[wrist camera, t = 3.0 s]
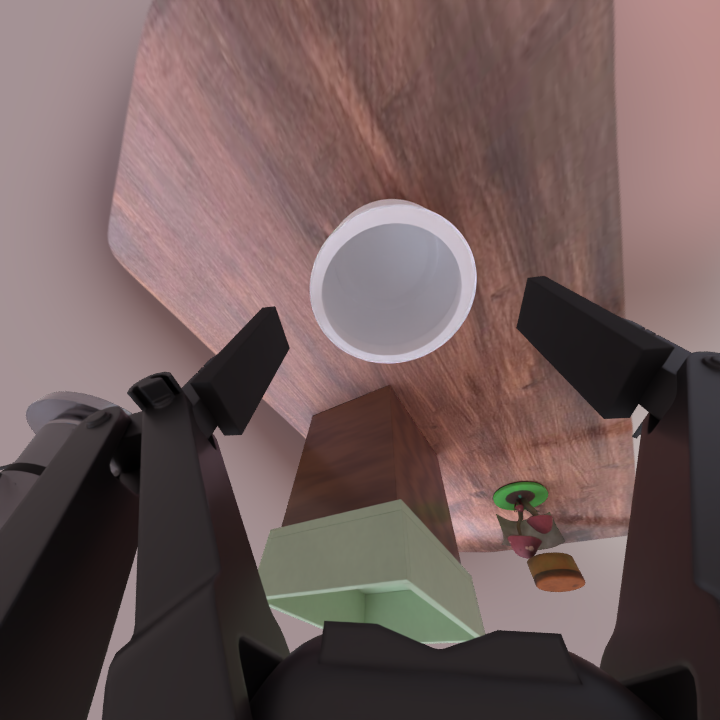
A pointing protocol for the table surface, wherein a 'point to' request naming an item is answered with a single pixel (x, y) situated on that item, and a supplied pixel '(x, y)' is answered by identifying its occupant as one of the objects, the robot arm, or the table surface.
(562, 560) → the toy figurine
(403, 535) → the tray
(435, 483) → the stand
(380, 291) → the jar
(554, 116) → the table surface
